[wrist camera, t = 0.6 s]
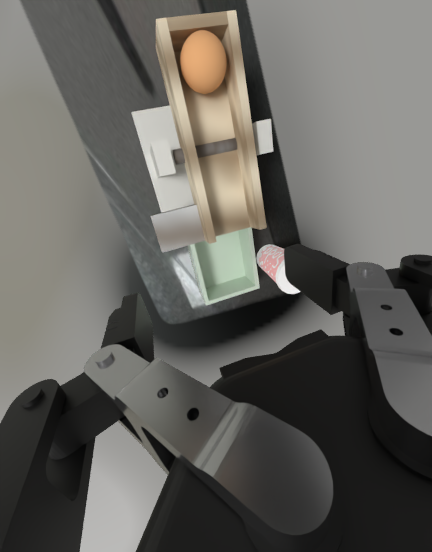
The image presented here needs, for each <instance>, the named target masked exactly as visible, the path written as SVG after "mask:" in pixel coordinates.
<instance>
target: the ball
mask: <svg viewBox="0 0 432 552" xmlns="http://www.w3.org/2000/svg"><path fill="white" fill-rule="evenodd" d="M180 65H181V71H182V75H183V77H184V79H185V81H186V83H187V84H188V85H189V87H190V88H191V89H193V90H194V91H196V92H198V93H201V94H207V93H211V92H213V91H214V90H216V89H217V88H218V87H219V86H220V84H221V83H222V81H223V79H224V76H225V72H226V65H227V62H226V54H225V50H224V47H223V45H222V43H221V41H220V40H219V39H218V38H217V36H216V35H214V34H213V33H211V32H209V31H206V30H199V31H196V32H194V33H192V34H191V35H190V36H189V37H188V38H187V39H186V41H185V43H184V45H183V47H182V51H181V56H180Z"/></svg>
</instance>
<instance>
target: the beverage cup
mask: <svg viewBox="0 0 432 552" xmlns="http://www.w3.org/2000/svg"><path fill="white" fill-rule="evenodd" d="M256 259H257V263H258V265H259V266H260V267H261V268H262V269H263V270H264V271H265V272H266V273H267V274H268V275H269V276H270V277H271V278H272V279H273V280H274V281H275V282H276V283H277V285H278V286H279V288H280V289H281V290H282V291H284V292H286V293H287V294H295V293H298V292H300V291H299V290H298V289H297V288H295V287H294V286H293V285H291V284H290V283H289V282H288V280H287V278H286V275H285V263H284V249H283V248H280V247H278V246H275V245H270V244H269V245H265V246H263V247H262V248H261V249H260V250H259V252H258V253H257V257H256Z"/></svg>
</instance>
